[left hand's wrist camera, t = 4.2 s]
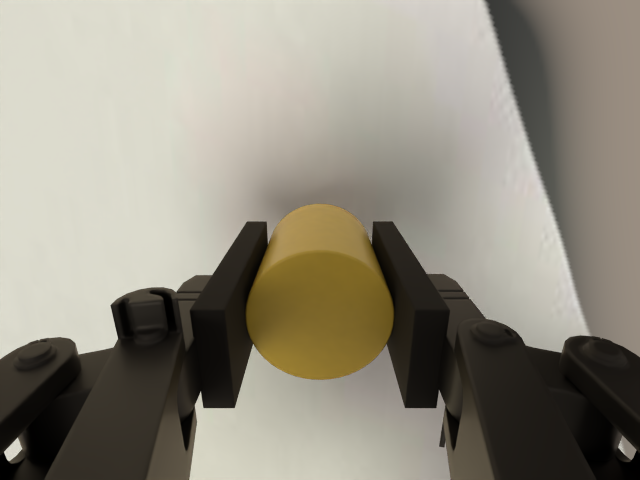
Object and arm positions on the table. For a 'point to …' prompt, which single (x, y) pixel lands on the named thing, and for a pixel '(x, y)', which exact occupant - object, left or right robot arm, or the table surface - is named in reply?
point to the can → (319, 296)
